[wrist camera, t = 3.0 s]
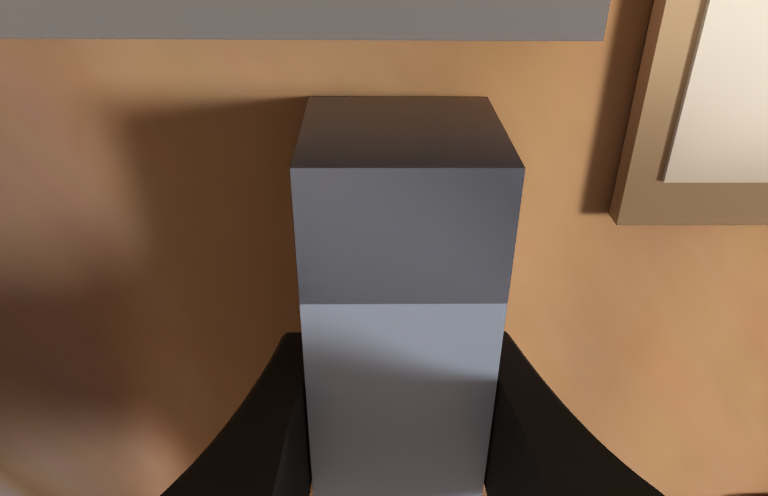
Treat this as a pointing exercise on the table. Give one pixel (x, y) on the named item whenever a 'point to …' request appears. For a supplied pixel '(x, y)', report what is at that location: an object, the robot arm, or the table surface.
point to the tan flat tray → (698, 118)
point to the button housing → (306, 19)
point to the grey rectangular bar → (402, 288)
